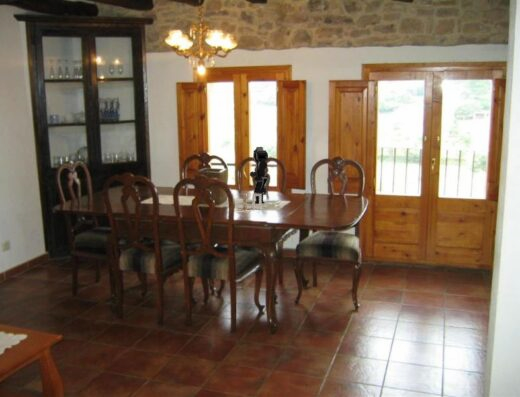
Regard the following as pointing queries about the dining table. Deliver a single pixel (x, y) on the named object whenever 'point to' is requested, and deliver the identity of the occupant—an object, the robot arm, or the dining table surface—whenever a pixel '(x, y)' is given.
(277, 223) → the dining table surface
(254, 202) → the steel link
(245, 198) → the birch stand
